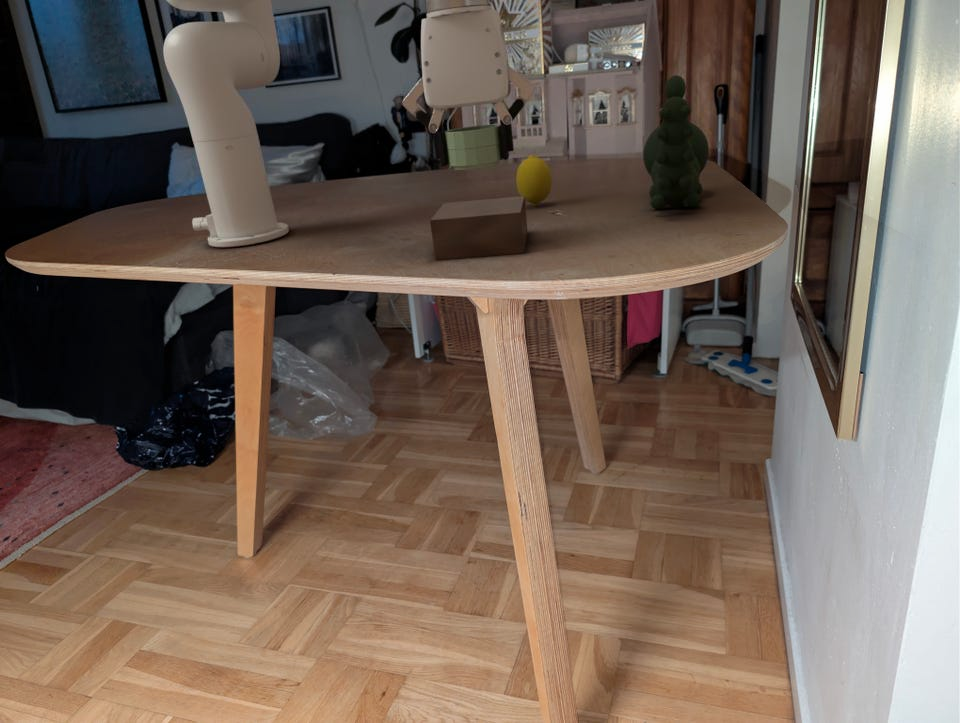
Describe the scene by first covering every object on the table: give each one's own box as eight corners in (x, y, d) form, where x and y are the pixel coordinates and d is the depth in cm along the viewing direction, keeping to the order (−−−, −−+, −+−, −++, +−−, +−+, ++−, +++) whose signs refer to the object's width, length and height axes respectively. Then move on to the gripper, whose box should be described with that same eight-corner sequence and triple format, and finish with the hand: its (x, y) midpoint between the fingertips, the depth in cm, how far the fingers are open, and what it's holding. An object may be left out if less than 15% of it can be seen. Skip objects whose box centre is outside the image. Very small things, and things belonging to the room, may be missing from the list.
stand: (435, 260, 87) (429, 220, 85) (448, 239, 97) (443, 203, 95) (523, 253, 85) (520, 212, 83) (527, 232, 95) (524, 195, 93)
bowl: (445, 172, 84) (440, 134, 83) (453, 165, 91) (448, 128, 89) (501, 167, 84) (497, 127, 82) (505, 159, 90) (501, 122, 88)
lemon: (531, 202, 116) (527, 152, 113) (559, 203, 112) (556, 151, 109) (511, 209, 112) (507, 157, 109) (540, 210, 109) (536, 157, 105)
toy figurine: (712, 231, 92) (706, 180, 113) (716, 77, 83) (708, 54, 104) (638, 234, 95) (646, 184, 116) (635, 86, 86) (643, 61, 107)
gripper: (534, -6, 82) (546, 150, 89) (391, 13, 85) (413, 164, 92) (532, -12, 75) (545, 158, 82) (376, 9, 78) (401, 173, 85)
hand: (475, 160), depth 87 cm, fingers closed on bowl, 6 cm apart
